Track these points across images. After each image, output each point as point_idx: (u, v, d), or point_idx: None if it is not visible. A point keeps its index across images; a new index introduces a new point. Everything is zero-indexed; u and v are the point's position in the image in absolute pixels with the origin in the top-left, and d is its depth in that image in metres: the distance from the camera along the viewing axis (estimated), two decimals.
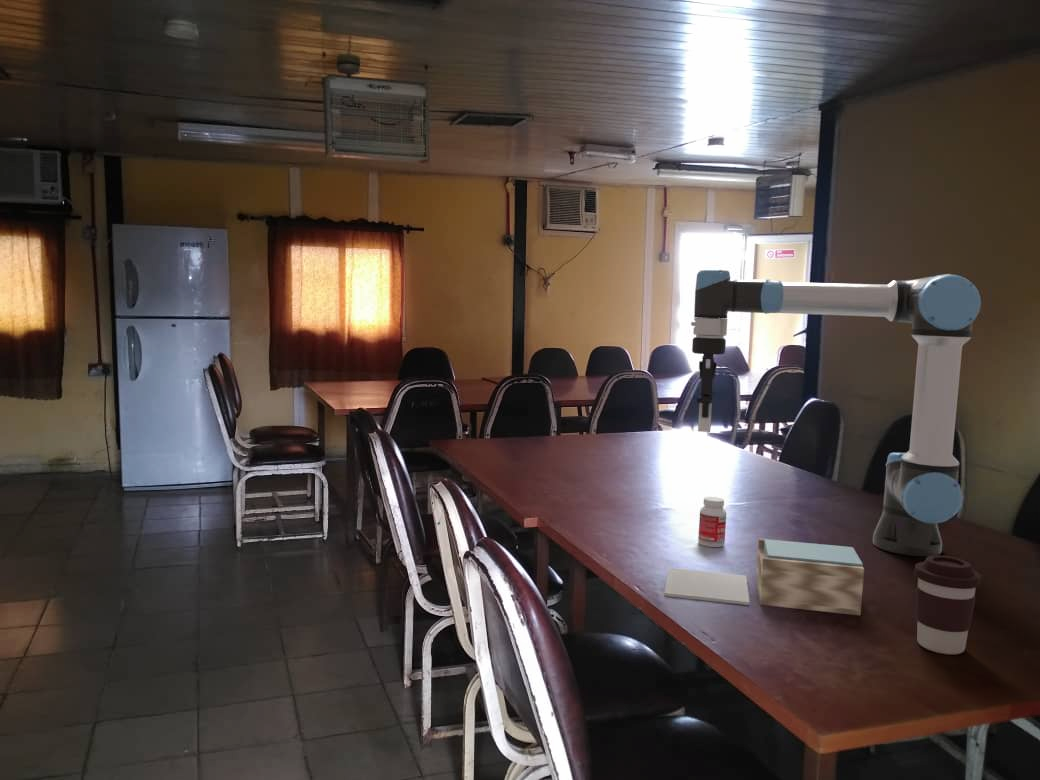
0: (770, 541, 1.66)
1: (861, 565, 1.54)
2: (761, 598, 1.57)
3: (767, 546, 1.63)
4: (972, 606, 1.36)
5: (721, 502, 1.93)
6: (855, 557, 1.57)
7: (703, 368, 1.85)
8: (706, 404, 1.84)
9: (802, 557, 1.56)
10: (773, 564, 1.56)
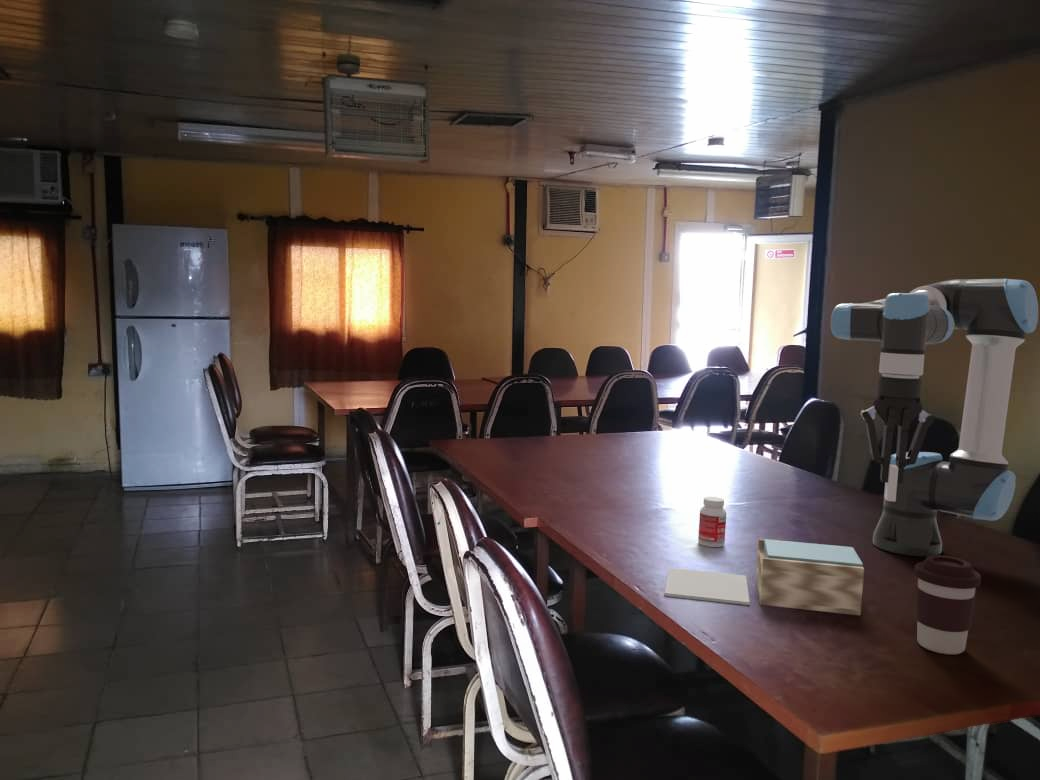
0: (770, 541, 1.66)
1: (861, 565, 1.54)
2: (761, 598, 1.57)
3: (767, 546, 1.63)
4: (972, 606, 1.36)
5: (721, 502, 1.93)
6: (855, 557, 1.57)
7: (865, 422, 1.57)
8: (881, 466, 1.56)
9: (802, 557, 1.56)
10: (773, 564, 1.56)
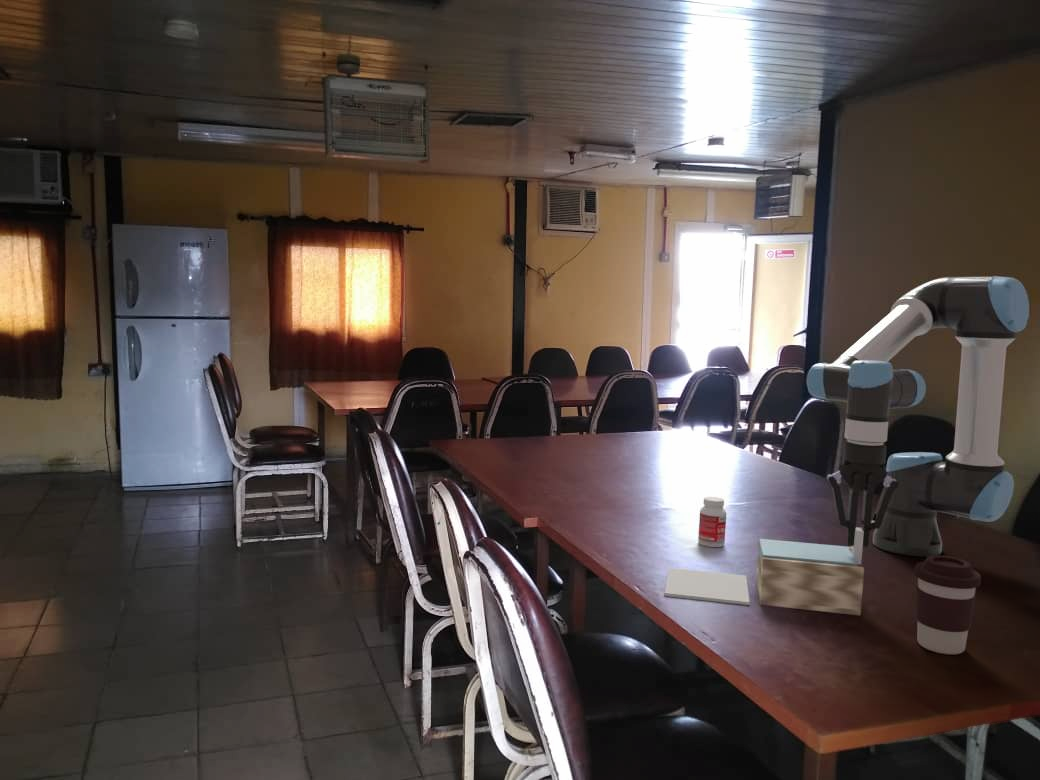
0: (765, 541, 1.66)
1: (856, 564, 1.54)
2: (761, 598, 1.57)
3: (762, 546, 1.63)
4: (972, 606, 1.36)
5: (721, 502, 1.93)
6: (850, 557, 1.57)
7: None
8: (847, 529, 1.59)
9: (797, 557, 1.56)
10: (773, 564, 1.56)
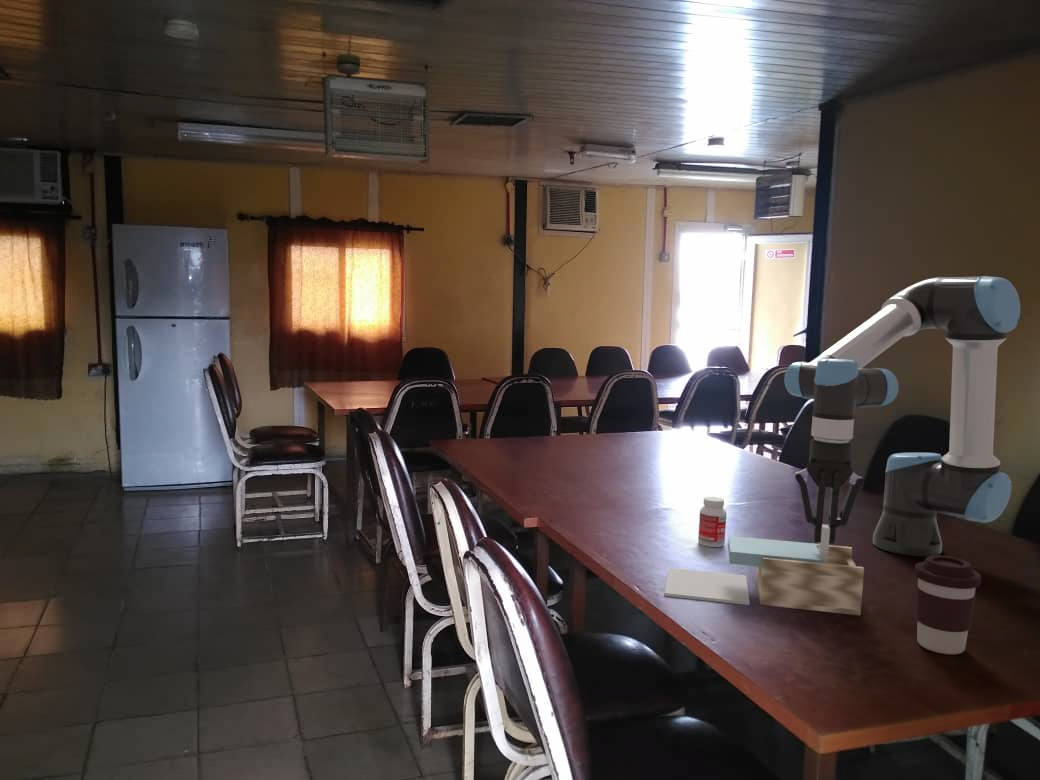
0: (734, 538, 1.68)
1: (821, 561, 1.55)
2: (761, 598, 1.57)
3: (730, 543, 1.64)
4: (972, 606, 1.36)
5: (721, 502, 1.93)
6: (816, 554, 1.59)
7: None
8: (814, 526, 1.60)
9: (763, 554, 1.58)
10: (773, 564, 1.56)
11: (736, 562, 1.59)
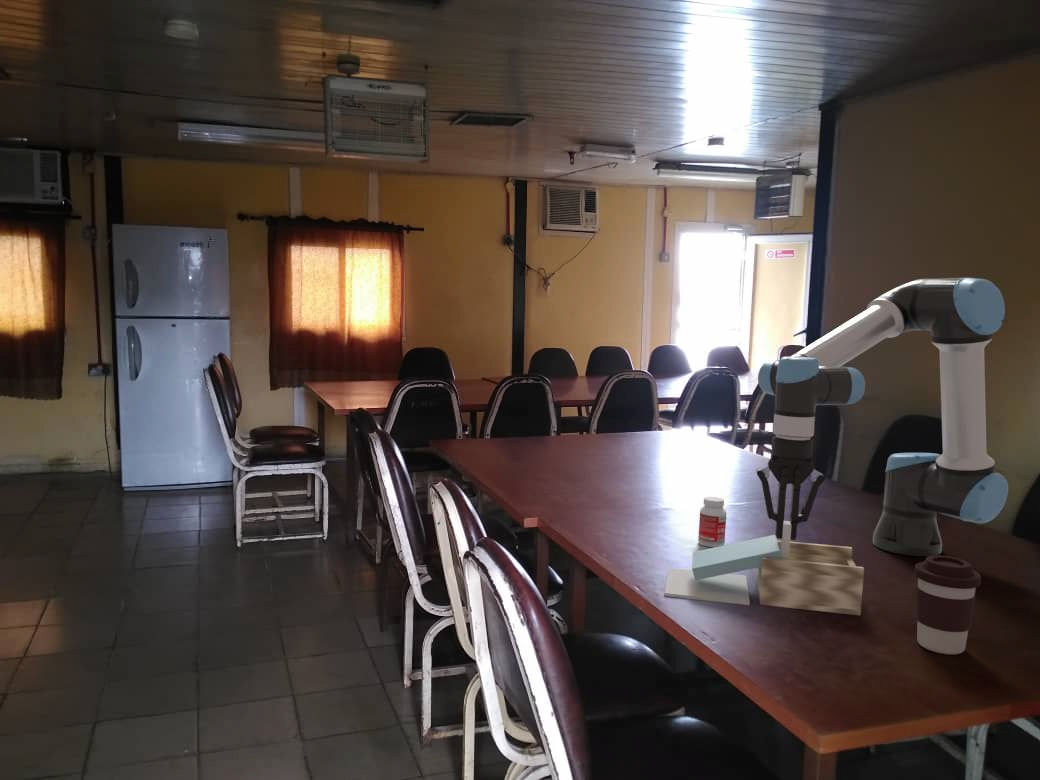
0: (697, 553, 1.70)
1: (779, 551, 1.57)
2: (761, 598, 1.57)
3: (693, 559, 1.66)
4: (972, 606, 1.36)
5: (721, 502, 1.93)
6: (774, 545, 1.60)
7: None
8: (776, 522, 1.61)
9: (723, 561, 1.60)
10: (773, 564, 1.56)
11: (701, 577, 1.60)
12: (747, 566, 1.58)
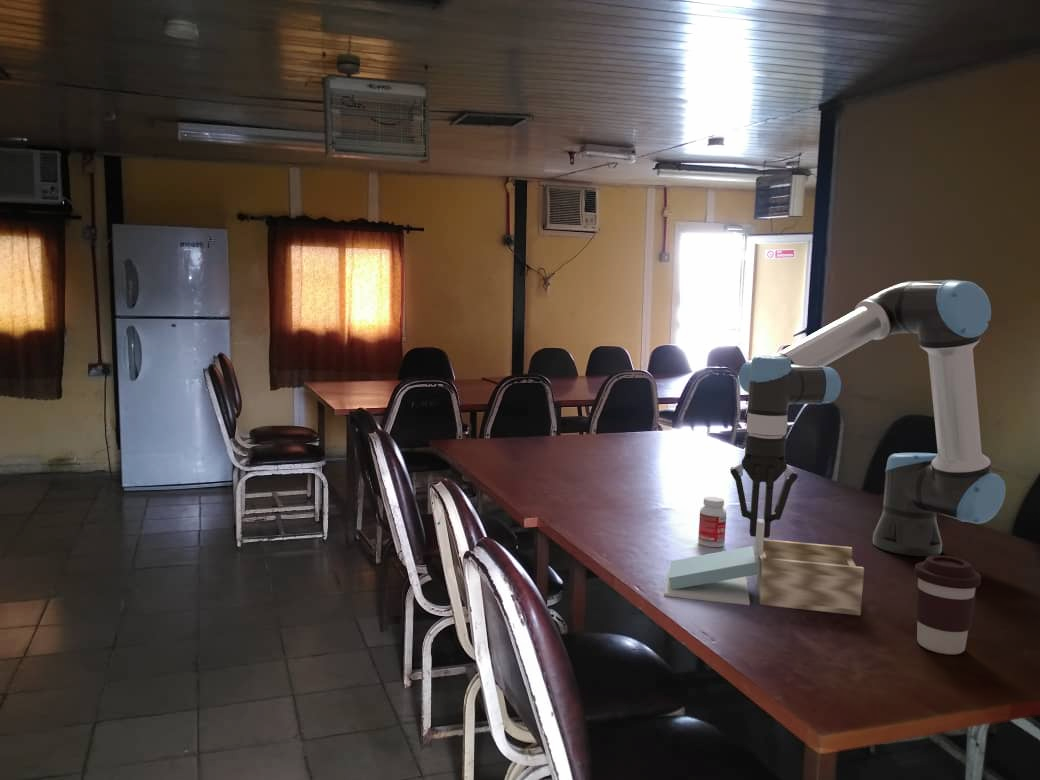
0: (675, 562, 1.71)
1: (755, 563, 1.58)
2: (761, 598, 1.57)
3: (671, 568, 1.68)
4: (972, 606, 1.36)
5: (721, 502, 1.93)
6: (751, 557, 1.62)
7: None
8: (750, 520, 1.63)
9: (700, 571, 1.61)
10: (773, 564, 1.56)
11: (677, 586, 1.62)
12: (723, 577, 1.59)
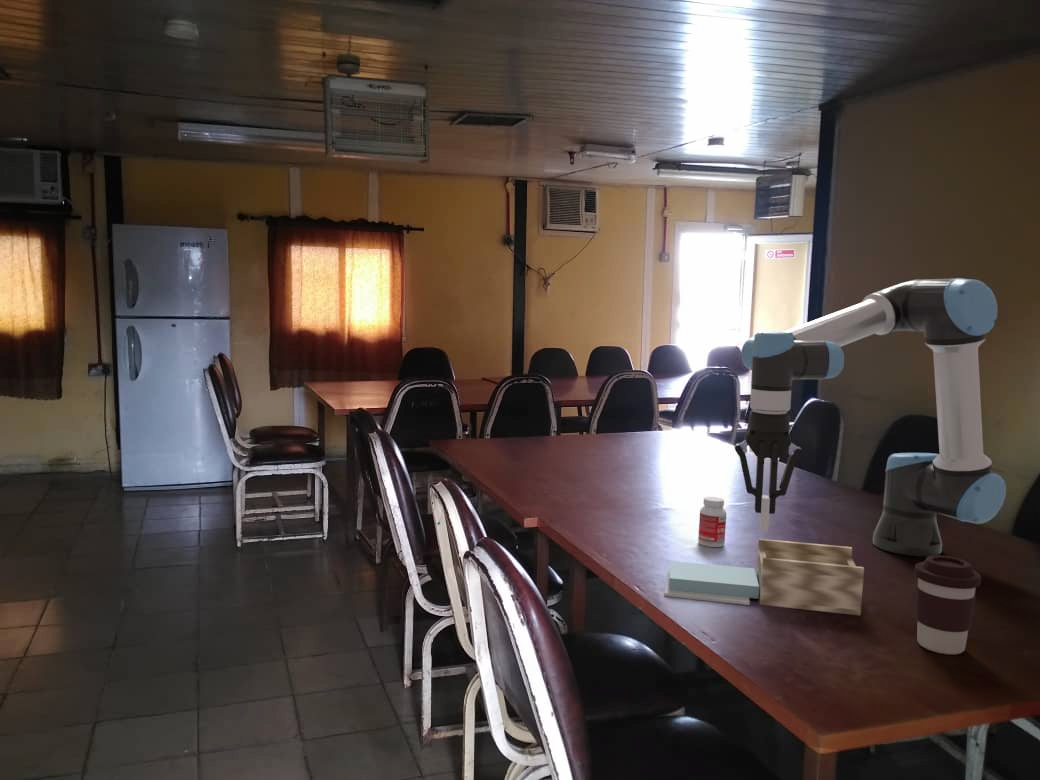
0: (675, 563, 1.71)
1: (757, 587, 1.58)
2: (761, 598, 1.57)
3: (671, 568, 1.67)
4: (972, 606, 1.36)
5: (721, 502, 1.93)
6: (753, 579, 1.62)
7: None
8: (755, 497, 1.62)
9: (702, 580, 1.61)
10: (773, 564, 1.56)
11: (675, 588, 1.61)
12: (723, 592, 1.60)
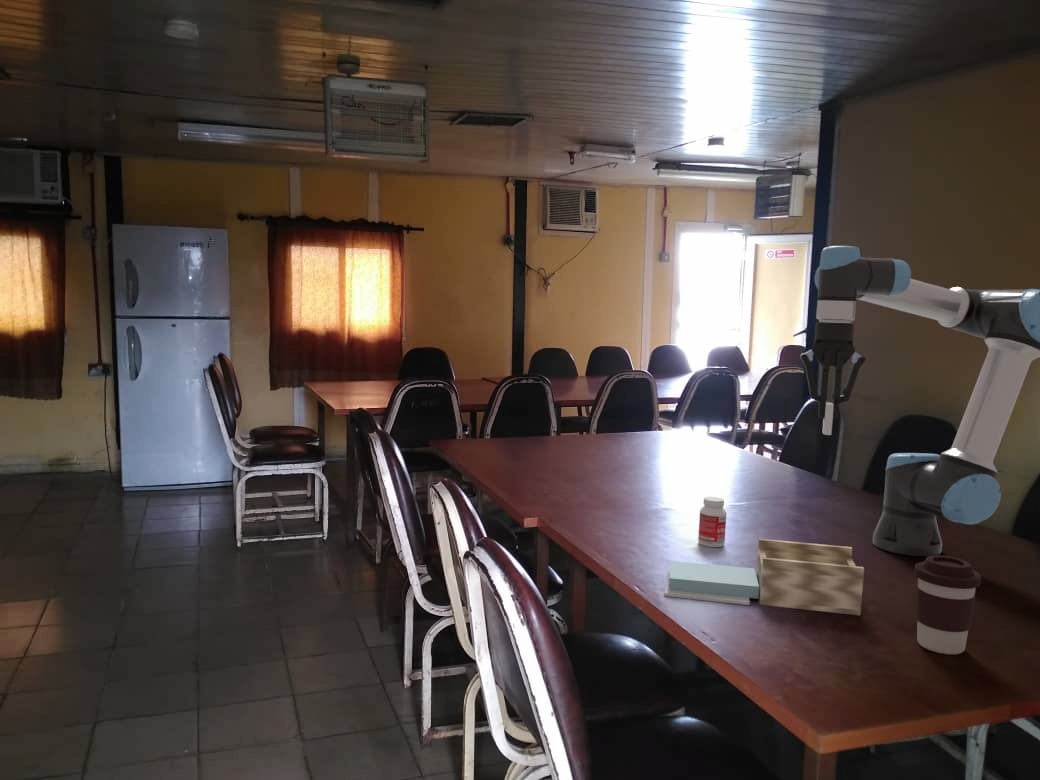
0: (675, 563, 1.71)
1: (757, 587, 1.58)
2: (761, 598, 1.57)
3: (671, 568, 1.67)
4: (972, 606, 1.36)
5: (721, 502, 1.93)
6: (753, 579, 1.62)
7: None
8: (819, 403, 1.73)
9: (702, 580, 1.61)
10: (773, 564, 1.56)
11: (675, 588, 1.61)
12: (723, 592, 1.60)
